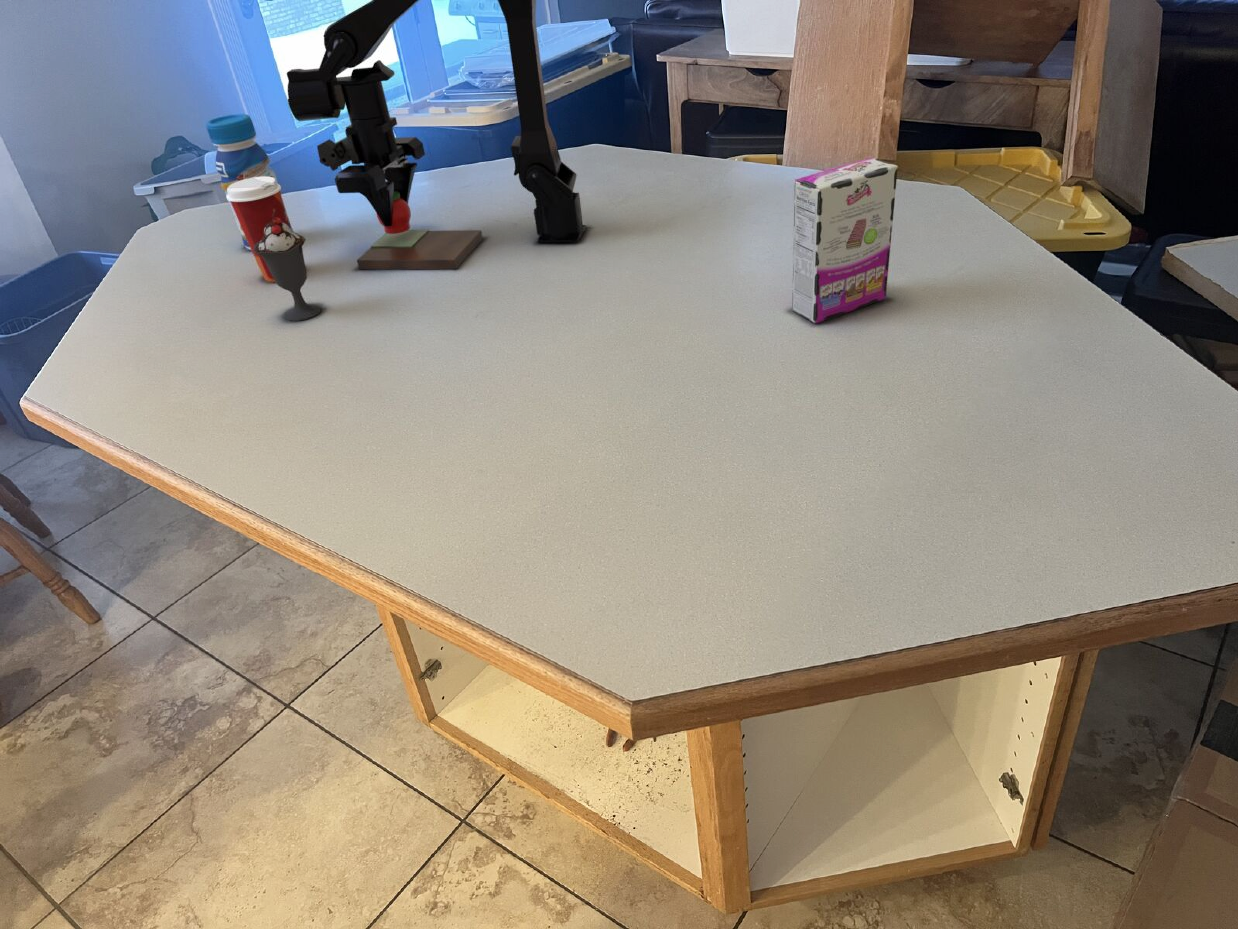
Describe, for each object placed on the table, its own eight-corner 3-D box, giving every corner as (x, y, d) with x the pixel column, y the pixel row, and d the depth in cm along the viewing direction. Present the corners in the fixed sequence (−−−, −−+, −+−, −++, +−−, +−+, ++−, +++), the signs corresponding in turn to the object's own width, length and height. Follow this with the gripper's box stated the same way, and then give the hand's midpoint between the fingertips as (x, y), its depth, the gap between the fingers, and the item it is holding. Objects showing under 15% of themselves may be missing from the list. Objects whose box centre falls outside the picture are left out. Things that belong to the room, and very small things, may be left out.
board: (483, 238, 132) (481, 228, 131) (456, 269, 122) (453, 258, 121) (391, 239, 135) (389, 229, 134) (358, 269, 126) (355, 258, 125)
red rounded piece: (419, 223, 131) (411, 188, 128) (406, 235, 127) (397, 199, 124) (389, 223, 132) (380, 189, 129) (375, 235, 128) (366, 200, 125)
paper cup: (318, 266, 128) (289, 176, 120) (283, 287, 123) (250, 193, 114) (281, 262, 131) (250, 173, 123) (245, 282, 126) (210, 190, 117)
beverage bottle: (292, 230, 144) (252, 108, 132) (299, 244, 137) (258, 118, 125) (242, 241, 141) (197, 118, 129) (247, 256, 135) (199, 129, 123)
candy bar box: (859, 286, 105) (871, 155, 96) (886, 300, 102) (901, 164, 92) (788, 310, 102) (793, 176, 92) (814, 325, 98) (821, 187, 88)
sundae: (313, 324, 111) (276, 215, 102) (269, 323, 112) (229, 215, 104) (336, 302, 116) (303, 197, 107) (294, 302, 118) (257, 198, 109)
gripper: (348, 101, 129) (375, 200, 138) (286, 134, 114) (320, 242, 123) (414, 98, 126) (436, 199, 135) (359, 131, 112) (388, 242, 121)
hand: (395, 219), depth 129 cm, fingers closed on red rounded piece, 5 cm apart
